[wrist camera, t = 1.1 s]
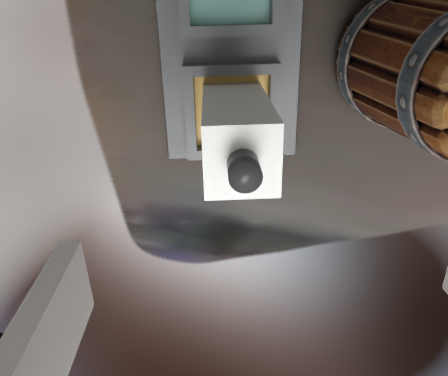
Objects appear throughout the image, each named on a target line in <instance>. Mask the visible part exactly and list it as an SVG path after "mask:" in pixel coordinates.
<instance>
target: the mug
mask: <svg viewBox="0 0 448 376" xmlns="http://www.w3.org/2000/svg"><path fill="white" fill-rule="evenodd" d="M337 50H338V51H339V53H338V58H337V59H336V67H335V72H336V78H337V83H339V86H340V90H341V93H342V95H343V96H344V98H345V100H346V101H347V103H348V105H349V106H350V107H351V108H352V109H353V110H354V111H356V112H357V113H358V114H359V115H360V116H362V117H364V118H366V119H368V120H370V121H372V122H373V123H375V124H377V125H379V126H381V127H387V128H389V129H391V130H393V131H395V132H397V133H399V134H401V135H403V136H405V137H407V138H409V139H410V140H412V141H413V142H414V143H415V144H416V145H417V146H418V147H420V148H422V149H423V150H425V151H427V152H429V153H431V154H433V155H435V156H437V157H439V158H441V159H443V160H445V161H447V162H448V0H372V1H370V2H369V3H368V4H366V5H365V6H364V7H363V8H362V9H361V10H360V11H359V12H358V13H357V14H356V15H355V16H354V20H353V21H352V23H351V25H348V26H347V27H346V29H345V31H344V33H343V35H342V37H341V40H340V43H339V46H338V49H337Z"/></svg>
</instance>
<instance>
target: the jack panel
mask: <svg viewBox="0 0 448 376" xmlns="http://www.w3.org/2000/svg"><path fill="white" fill-rule="evenodd" d="M156 9H157V21H158V32H159V44H160V56H161V68H162V79H163V91H164V103H165V114H166V126H167V138H168V150H169V159H177V158H188V160H202V139H201V115H202V96H203V83H225V82H258V81H259V82H260V84H261V85H262V87H263V89H264V91H265V92H266V94H267V96H268V97H269V99H270V101H271V102H272V104H273V106H274V107H275V109H276V111H277V112H278V114H279V116H280V117H281V119H282V121H283V122H284V139H283V155H294V154H295V141H296V123H297V104H298V85H299V67H300V48H301V29H302V10H303V0H156Z"/></svg>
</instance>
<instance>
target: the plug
mask: <svg viewBox="0 0 448 376" xmlns="http://www.w3.org/2000/svg"><path fill="white" fill-rule="evenodd" d="M201 139H202V160H203V180H204V201H212V200H239V199H266V198H281V188H282V164H283V139H284V122H283V121H282V119H281V117H280V116H279V114H278V112H277V111H276V109H275V107H274V106H273V104H272V102H271V101H270V99H269V97H268V96H267V94H266V92H265V91H264V89H263V87H262V85H261V84H260V82H259V81H258V82H225V83H203V96H202V115H201Z"/></svg>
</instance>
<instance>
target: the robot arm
mask: <svg viewBox="0 0 448 376" xmlns="http://www.w3.org/2000/svg"><path fill="white" fill-rule="evenodd" d="M442 288H443V289H444V290H445V291H446V293H447V294H448V267H447V271H446V275H445V279H444V283H443V287H442ZM93 306H94V302H93V297H92V292H91V287H90V282H89V278H88V273H87V268H86V263H85V258H84V254H83V249H82V245H81V242H59V243H58V244H57V246H56V248H55V249H54V251H53V252H52V254H51V256H50V258H49V260H48V261H47V263H46V264H45V266H44V267H43V269H42V271H41V273H40V274H39V276H38V277H37V279H36V281H35V282H34V284H33V286H32V287H31V289H30V291H29V292H28V294H27V296H26V298H25V299H24V301H23V302H22V304H21V305H20V307H19V309H18V311H17V312H16V314H15V315H14V317H13V319H12V321H11V322H10V324H9V325H8V327H7V329H6V331H5V332H4V333H0V376H68V374H69V371H70V368H71V366H72V363H73V360H74V358H75V355H76V352H77V349H78V347H79V344H80V341H81V339H82V336H83V333H84V330H85V328H86V325H87V322H88V320H89V317H90V314H91V311H92V309H93Z"/></svg>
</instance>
